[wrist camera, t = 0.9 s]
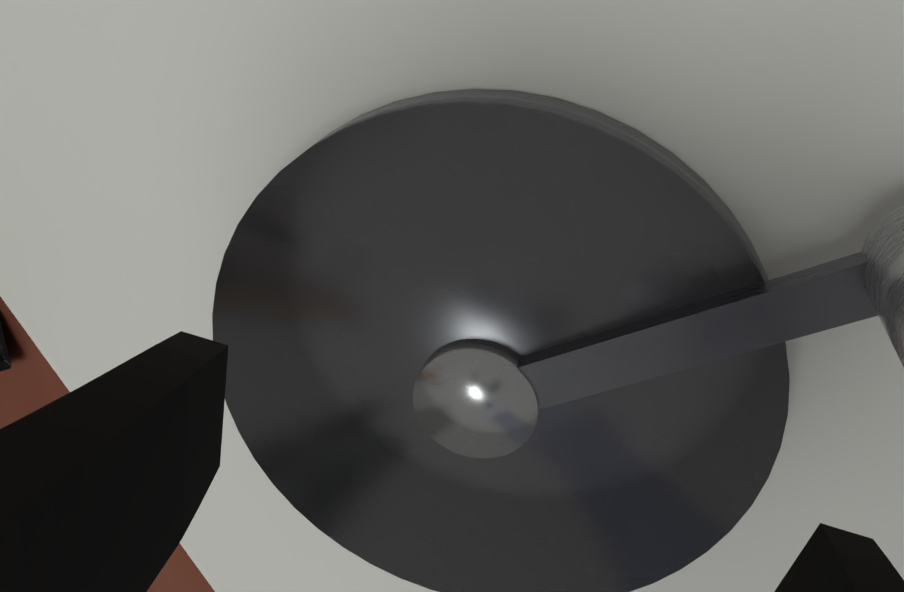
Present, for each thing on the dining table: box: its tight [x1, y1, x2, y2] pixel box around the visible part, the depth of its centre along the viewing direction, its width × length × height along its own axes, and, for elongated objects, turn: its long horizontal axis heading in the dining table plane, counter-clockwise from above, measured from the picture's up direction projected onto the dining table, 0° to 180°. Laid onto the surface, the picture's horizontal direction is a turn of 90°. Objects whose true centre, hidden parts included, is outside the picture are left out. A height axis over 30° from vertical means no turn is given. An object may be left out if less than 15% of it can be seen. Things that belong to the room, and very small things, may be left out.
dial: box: [212, 89, 904, 592], centre depth 18 cm, size 18×14×5 cm
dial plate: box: [0, 0, 904, 592], centre depth 21 cm, size 26×28×1 cm
